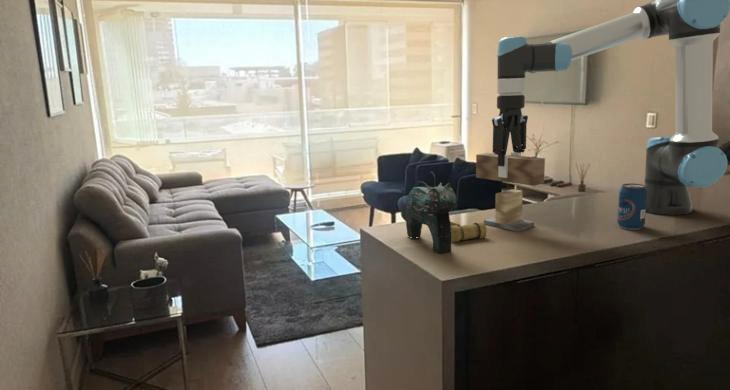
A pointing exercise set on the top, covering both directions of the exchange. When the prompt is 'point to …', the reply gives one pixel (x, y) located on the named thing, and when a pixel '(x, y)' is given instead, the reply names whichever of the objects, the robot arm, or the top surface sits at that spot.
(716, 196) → the top surface
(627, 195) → the soda can
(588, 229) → the top surface
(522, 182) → the walnut beam
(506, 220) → the fulcrum
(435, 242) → the ceramic cat
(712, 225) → the top surface
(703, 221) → the top surface
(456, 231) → the gavel
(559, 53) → the robot arm
